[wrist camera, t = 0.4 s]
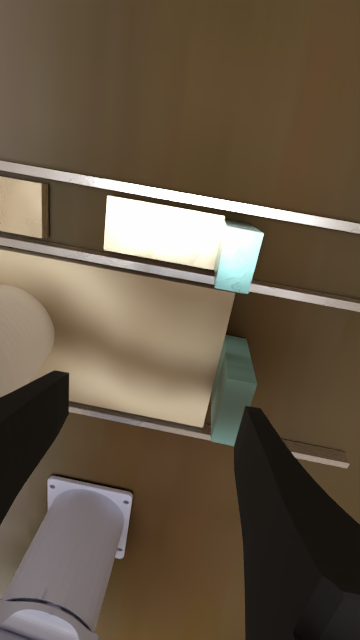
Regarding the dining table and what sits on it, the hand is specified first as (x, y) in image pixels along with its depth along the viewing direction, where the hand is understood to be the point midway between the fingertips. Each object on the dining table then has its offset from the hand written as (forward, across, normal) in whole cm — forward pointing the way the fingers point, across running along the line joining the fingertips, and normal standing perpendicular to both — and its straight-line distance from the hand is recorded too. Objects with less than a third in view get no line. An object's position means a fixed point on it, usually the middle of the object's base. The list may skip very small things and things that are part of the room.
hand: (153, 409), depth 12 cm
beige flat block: (+10, +6, +2) cm, 12 cm away
